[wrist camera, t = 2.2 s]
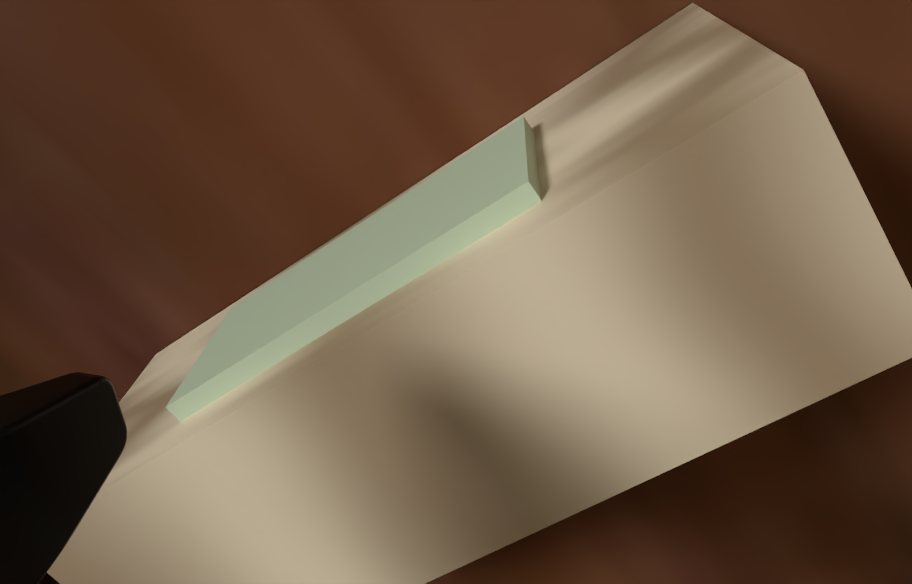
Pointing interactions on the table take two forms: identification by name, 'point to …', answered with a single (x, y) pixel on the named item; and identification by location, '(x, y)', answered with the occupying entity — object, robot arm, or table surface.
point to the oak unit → (514, 335)
